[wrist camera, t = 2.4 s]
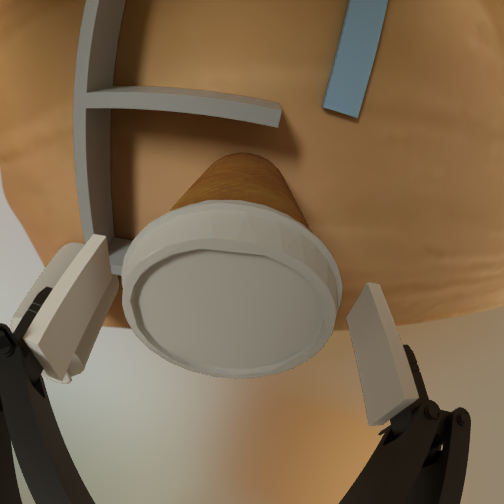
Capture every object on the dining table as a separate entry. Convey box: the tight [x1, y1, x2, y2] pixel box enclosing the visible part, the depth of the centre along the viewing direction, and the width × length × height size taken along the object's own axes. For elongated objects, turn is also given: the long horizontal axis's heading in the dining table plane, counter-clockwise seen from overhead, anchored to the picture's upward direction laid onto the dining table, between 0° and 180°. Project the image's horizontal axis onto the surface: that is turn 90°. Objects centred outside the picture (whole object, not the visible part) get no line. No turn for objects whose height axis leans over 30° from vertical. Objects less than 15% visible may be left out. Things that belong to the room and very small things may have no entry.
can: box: [11, 243, 119, 384], centre depth 21 cm, size 8×8×12 cm
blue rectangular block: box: [322, 0, 388, 118], centre depth 13 cm, size 11×2×1 cm, turn 169°
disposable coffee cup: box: [121, 153, 343, 379], centre depth 16 cm, size 10×10×12 cm
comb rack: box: [73, 0, 282, 276], centre depth 15 cm, size 27×12×4 cm, turn 169°
